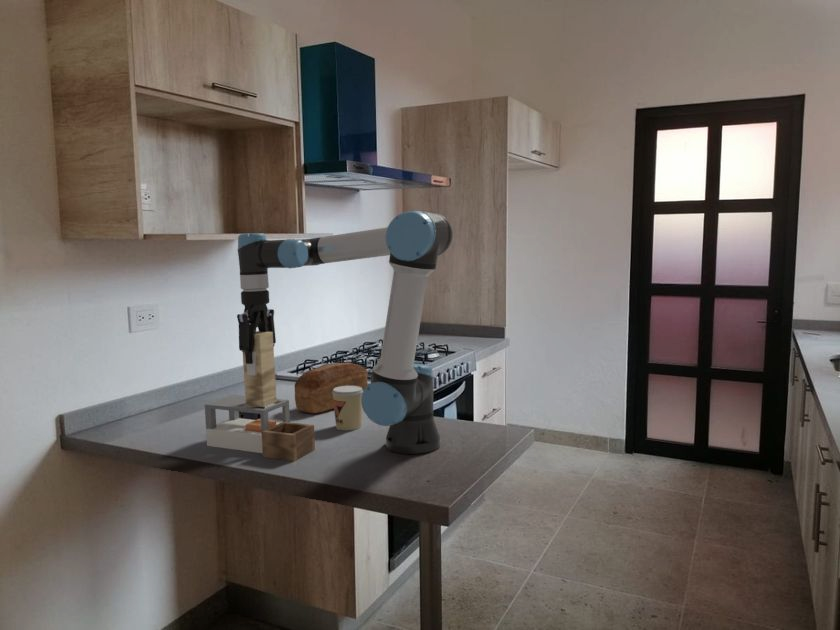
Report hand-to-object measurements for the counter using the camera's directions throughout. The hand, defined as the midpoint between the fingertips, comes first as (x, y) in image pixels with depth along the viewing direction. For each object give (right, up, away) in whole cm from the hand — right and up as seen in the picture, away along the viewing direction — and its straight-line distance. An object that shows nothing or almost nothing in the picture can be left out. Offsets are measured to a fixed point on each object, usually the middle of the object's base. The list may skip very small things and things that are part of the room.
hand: (259, 372), depth 185 cm
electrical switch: (-7, -19, +20) cm, 28 cm away
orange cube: (0, -20, +3) cm, 21 cm away
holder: (+9, -22, -5) cm, 24 cm away
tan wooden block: (0, -9, +1) cm, 9 cm away
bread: (+15, -16, +45) cm, 50 cm away
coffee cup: (+23, -19, +19) cm, 35 cm away
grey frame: (-4, -21, +4) cm, 22 cm away
